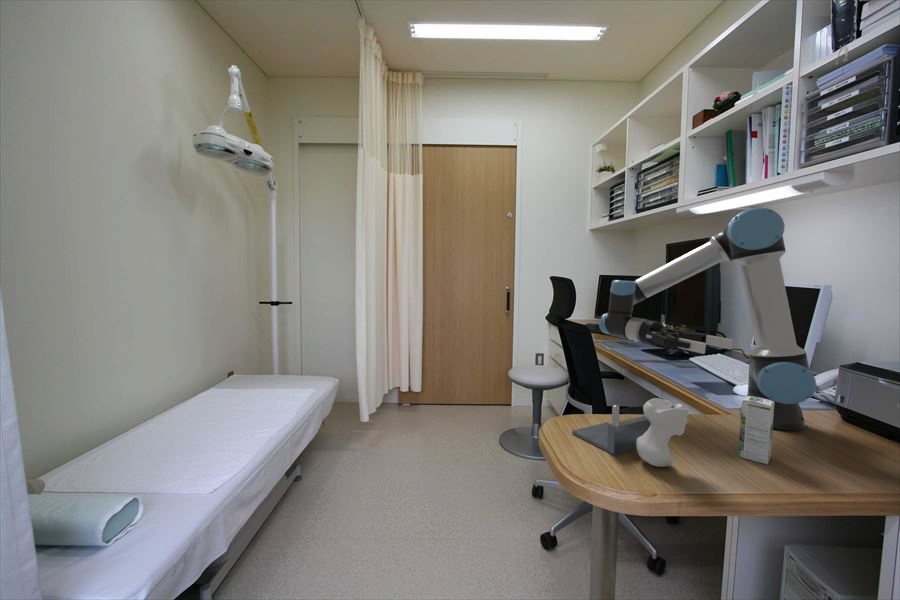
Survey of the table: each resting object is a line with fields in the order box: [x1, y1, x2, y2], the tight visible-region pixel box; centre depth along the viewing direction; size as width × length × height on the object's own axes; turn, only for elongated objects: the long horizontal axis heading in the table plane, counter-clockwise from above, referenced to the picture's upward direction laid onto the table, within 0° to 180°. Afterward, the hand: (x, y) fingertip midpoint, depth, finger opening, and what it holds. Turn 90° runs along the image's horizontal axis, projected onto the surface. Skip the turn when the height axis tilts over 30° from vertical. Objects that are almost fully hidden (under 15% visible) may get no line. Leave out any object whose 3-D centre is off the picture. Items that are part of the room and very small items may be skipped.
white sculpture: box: [636, 397, 689, 468], centre depth 85 cm, size 10×11×15 cm
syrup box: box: [737, 395, 774, 465], centre depth 89 cm, size 6×6×14 cm
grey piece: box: [571, 404, 651, 456], centre depth 99 cm, size 14×14×12 cm
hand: (719, 346), depth 97 cm, fingers open, 13 cm apart
